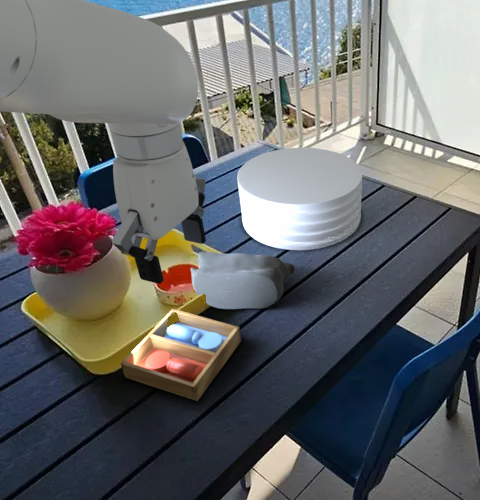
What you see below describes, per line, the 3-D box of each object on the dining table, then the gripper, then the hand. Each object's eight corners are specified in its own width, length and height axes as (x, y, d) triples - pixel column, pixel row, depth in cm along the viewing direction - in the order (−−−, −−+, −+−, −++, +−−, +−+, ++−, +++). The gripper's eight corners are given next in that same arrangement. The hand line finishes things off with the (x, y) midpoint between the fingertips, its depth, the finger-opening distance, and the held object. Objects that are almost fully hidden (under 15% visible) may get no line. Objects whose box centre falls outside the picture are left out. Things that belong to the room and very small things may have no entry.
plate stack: (378, 237, 112) (381, 193, 106) (254, 260, 104) (249, 213, 98) (339, 182, 134) (339, 141, 127) (234, 197, 126) (228, 155, 119)
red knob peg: (142, 370, 79) (139, 361, 78) (157, 354, 82) (154, 344, 81) (198, 388, 76) (195, 379, 75) (211, 370, 79) (209, 361, 78)
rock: (296, 273, 101) (294, 241, 97) (289, 311, 92) (287, 277, 87) (206, 271, 101) (200, 239, 97) (190, 308, 92) (183, 275, 88)
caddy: (197, 401, 75) (194, 387, 74) (125, 377, 79) (120, 363, 77) (241, 340, 86) (239, 326, 84) (176, 322, 89) (172, 308, 87)
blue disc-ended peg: (227, 341, 84) (225, 332, 83) (215, 357, 82) (213, 347, 80) (175, 326, 87) (173, 317, 86) (162, 341, 84) (159, 332, 83)
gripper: (166, 112, 66) (188, 223, 75) (65, 164, 52) (107, 291, 62) (216, 120, 64) (232, 233, 73) (124, 175, 50) (158, 305, 60)
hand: (175, 259), depth 68 cm, fingers open, 9 cm apart
